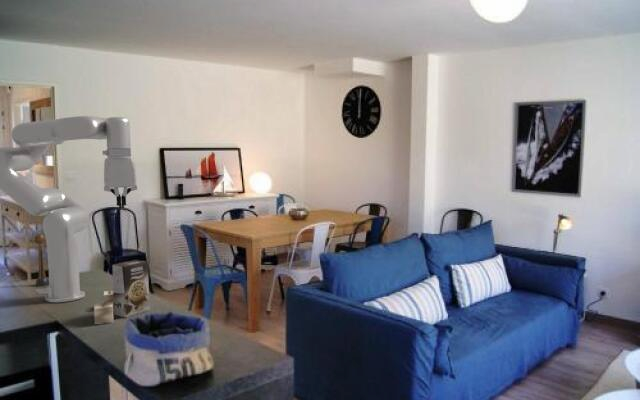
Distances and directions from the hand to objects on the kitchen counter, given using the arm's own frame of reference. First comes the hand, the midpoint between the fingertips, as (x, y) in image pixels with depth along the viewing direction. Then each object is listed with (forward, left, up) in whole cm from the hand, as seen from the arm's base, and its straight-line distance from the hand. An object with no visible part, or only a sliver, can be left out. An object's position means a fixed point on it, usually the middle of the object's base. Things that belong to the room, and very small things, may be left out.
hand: (121, 207), depth 178 cm
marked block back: (-4, -8, -32) cm, 33 cm away
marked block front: (-6, -23, -32) cm, 40 cm away
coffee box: (+2, -17, -32) cm, 37 cm away
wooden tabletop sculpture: (-31, +34, -32) cm, 56 cm away
